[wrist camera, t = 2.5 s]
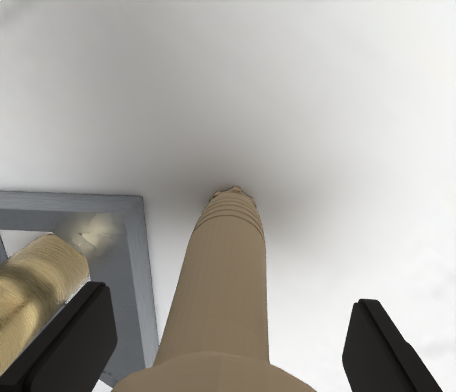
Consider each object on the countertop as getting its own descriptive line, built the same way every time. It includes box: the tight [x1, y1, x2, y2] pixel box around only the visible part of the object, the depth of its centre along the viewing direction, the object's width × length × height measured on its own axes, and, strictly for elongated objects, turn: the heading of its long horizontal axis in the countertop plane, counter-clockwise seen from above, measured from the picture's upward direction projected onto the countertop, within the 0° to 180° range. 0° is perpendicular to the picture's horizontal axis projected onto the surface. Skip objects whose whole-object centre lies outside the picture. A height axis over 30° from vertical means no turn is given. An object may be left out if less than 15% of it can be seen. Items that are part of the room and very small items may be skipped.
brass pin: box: [0, 234, 89, 376], centre depth 17 cm, size 5×5×10 cm
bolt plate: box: [0, 191, 159, 388], centre depth 22 cm, size 25×15×3 cm, turn 179°
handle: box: [111, 186, 317, 392], centre depth 12 cm, size 5×6×15 cm
